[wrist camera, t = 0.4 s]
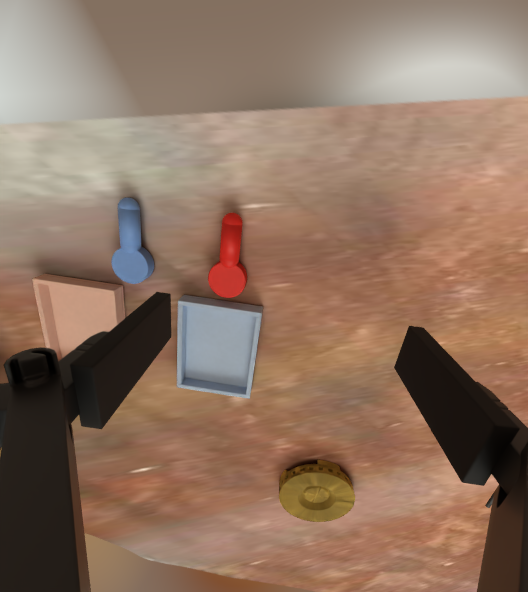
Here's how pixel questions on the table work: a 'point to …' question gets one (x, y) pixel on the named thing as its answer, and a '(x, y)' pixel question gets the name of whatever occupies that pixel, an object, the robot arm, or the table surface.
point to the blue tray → (217, 345)
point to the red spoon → (229, 260)
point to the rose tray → (76, 310)
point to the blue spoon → (131, 245)
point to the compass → (316, 492)
